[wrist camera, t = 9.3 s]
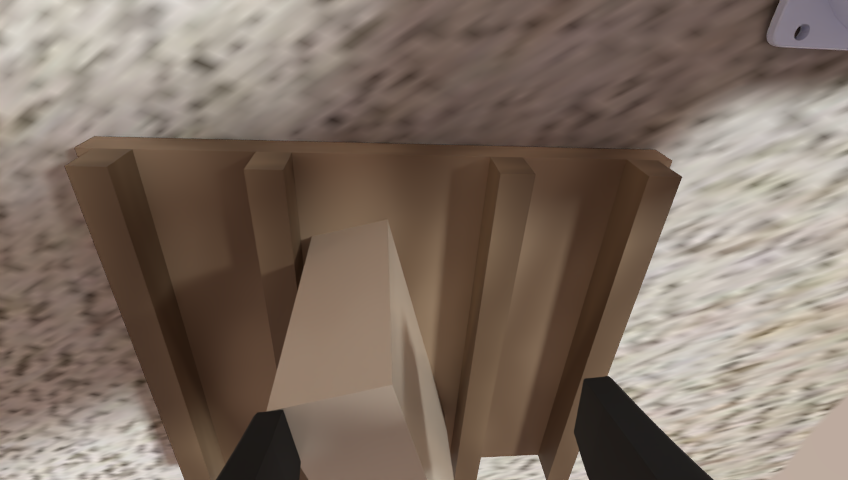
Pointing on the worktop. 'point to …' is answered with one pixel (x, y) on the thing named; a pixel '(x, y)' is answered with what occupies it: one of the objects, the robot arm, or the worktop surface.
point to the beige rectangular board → (359, 367)
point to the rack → (419, 257)
